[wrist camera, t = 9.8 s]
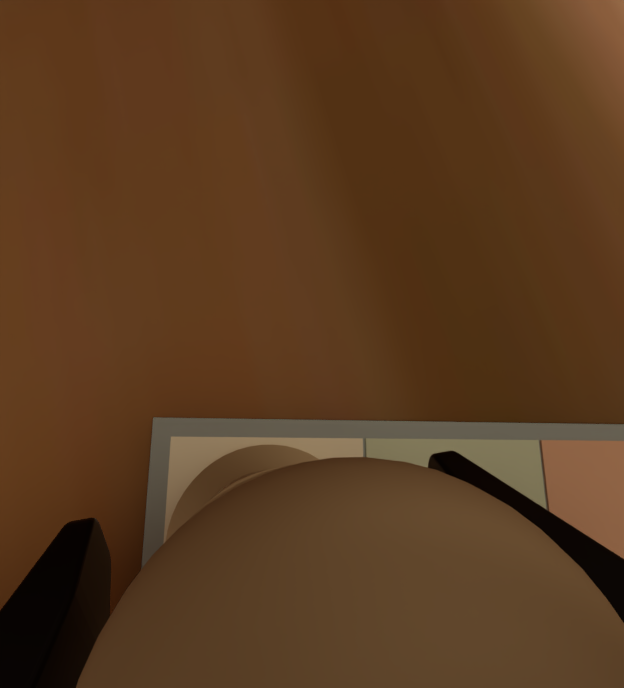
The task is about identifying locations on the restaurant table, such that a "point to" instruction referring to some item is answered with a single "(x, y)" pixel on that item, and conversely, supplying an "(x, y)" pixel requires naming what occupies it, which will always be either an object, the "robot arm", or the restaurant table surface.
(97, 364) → the restaurant table surface
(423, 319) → the restaurant table surface
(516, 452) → the board
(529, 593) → the pawn
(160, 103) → the restaurant table surface
